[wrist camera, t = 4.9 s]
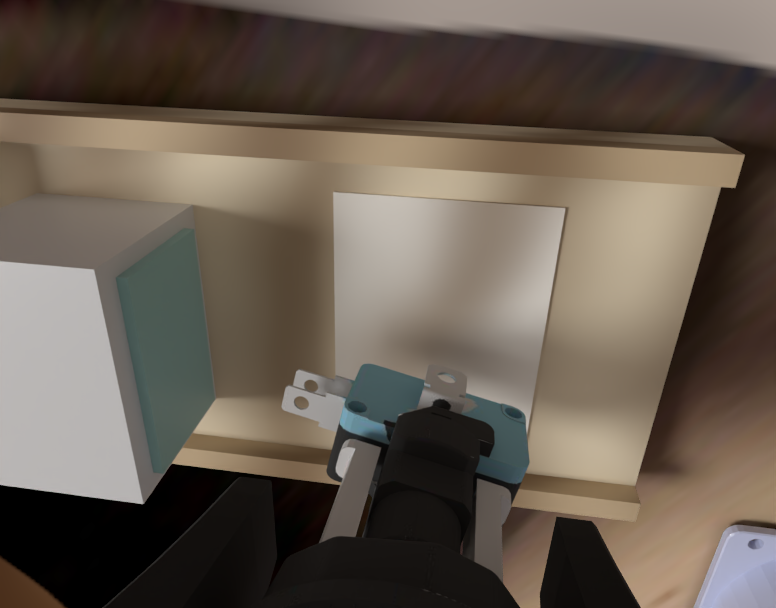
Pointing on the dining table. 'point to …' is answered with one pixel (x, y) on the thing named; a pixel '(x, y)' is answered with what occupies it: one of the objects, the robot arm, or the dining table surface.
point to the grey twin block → (99, 343)
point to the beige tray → (412, 268)
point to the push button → (408, 494)
